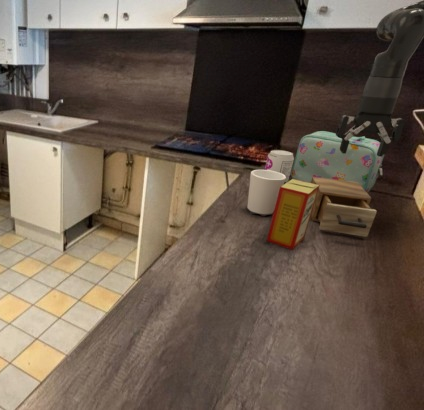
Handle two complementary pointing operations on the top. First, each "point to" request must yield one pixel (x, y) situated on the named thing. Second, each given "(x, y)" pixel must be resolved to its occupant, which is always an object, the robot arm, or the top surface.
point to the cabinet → (337, 192)
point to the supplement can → (280, 162)
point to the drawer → (345, 215)
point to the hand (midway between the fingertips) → (360, 154)
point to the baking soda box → (292, 213)
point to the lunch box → (337, 159)
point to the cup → (264, 191)
